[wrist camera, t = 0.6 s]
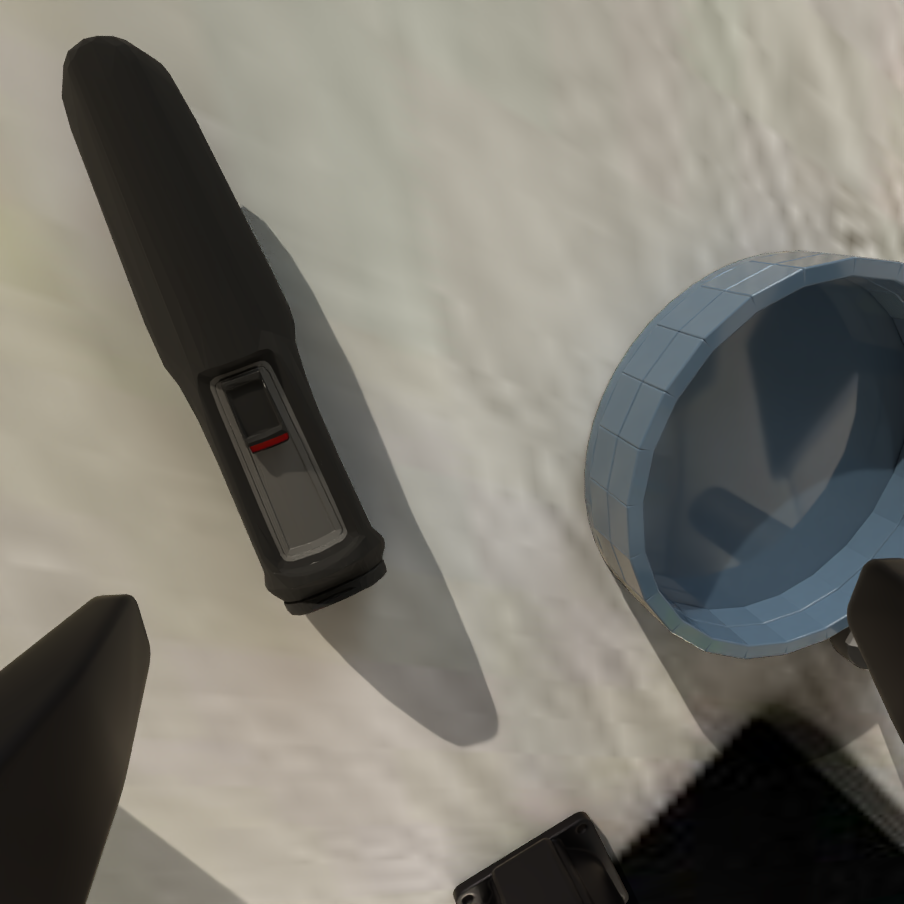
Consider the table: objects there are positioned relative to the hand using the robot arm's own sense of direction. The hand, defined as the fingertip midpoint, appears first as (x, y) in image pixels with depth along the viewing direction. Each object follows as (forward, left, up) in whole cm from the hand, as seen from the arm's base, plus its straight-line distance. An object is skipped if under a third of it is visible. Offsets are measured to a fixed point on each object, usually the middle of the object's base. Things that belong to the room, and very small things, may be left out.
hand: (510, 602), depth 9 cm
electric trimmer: (+1, +3, -14) cm, 14 cm away
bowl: (-10, -12, -13) cm, 21 cm away
